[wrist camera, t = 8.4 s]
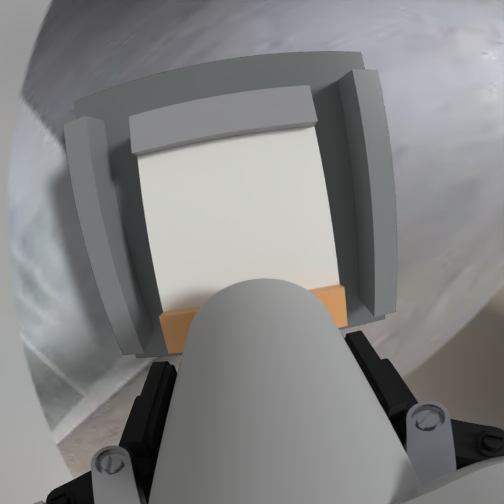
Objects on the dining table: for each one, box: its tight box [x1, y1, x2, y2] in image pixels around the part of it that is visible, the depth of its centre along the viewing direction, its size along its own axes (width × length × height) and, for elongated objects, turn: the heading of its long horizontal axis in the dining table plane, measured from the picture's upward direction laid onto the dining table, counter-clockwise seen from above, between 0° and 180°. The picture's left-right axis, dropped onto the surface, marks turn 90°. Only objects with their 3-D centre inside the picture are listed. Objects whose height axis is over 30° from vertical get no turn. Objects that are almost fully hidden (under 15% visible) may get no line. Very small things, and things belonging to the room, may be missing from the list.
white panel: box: [129, 85, 348, 354], centre depth 15 cm, size 12×9×2 cm
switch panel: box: [63, 51, 398, 358], centre depth 17 cm, size 18×18×6 cm
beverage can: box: [148, 278, 422, 504], centre depth 8 cm, size 6×6×12 cm
